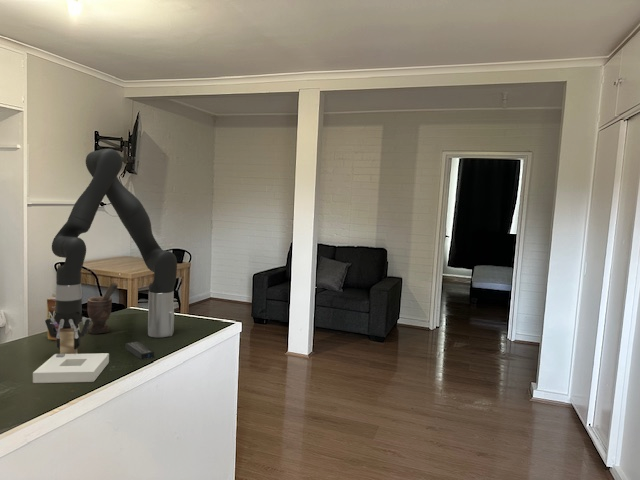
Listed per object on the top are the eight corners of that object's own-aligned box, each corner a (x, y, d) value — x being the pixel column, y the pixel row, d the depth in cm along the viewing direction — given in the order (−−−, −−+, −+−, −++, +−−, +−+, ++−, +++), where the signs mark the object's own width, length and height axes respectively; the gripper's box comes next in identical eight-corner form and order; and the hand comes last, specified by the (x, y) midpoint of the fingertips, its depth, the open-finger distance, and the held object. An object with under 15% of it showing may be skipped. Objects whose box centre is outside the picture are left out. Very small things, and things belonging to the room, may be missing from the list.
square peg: (77, 354, 155) (77, 325, 154) (73, 358, 151) (73, 328, 150) (64, 354, 154) (64, 325, 153) (59, 358, 150) (59, 328, 149)
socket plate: (108, 362, 149) (108, 351, 149) (93, 381, 133) (93, 369, 133) (54, 363, 146) (54, 352, 146) (32, 383, 130) (32, 370, 130)
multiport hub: (137, 347, 166) (137, 341, 166) (154, 358, 156) (154, 351, 155) (125, 349, 163) (125, 343, 163) (141, 361, 152) (141, 354, 152)
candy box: (46, 339, 169) (46, 298, 167) (56, 336, 173) (56, 296, 171) (65, 343, 166) (65, 301, 165) (75, 339, 170) (75, 298, 169)
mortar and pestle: (122, 329, 186) (123, 280, 184) (115, 335, 178) (115, 283, 176) (92, 328, 185) (92, 279, 183) (83, 334, 176) (83, 283, 175)
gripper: (95, 295, 156) (95, 345, 157) (49, 294, 153) (49, 345, 154) (88, 300, 148) (88, 352, 150) (40, 299, 146) (40, 352, 147)
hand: (68, 348), depth 152 cm, fingers closed on square peg, 4 cm apart
